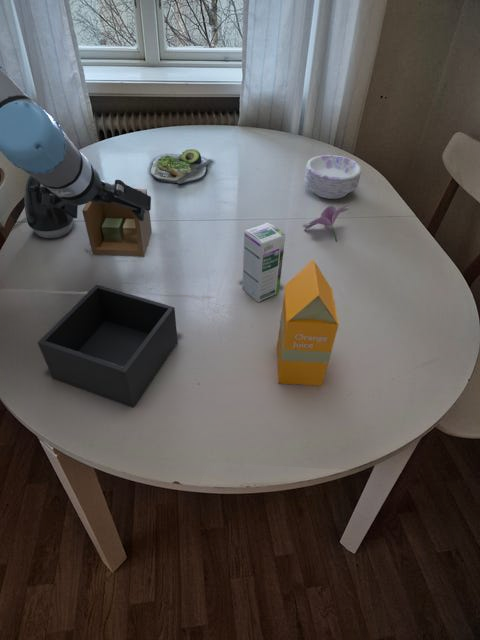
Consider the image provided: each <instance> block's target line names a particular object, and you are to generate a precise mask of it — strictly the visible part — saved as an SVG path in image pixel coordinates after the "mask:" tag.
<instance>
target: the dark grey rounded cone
mask: <svg viewBox="0 0 480 640" xmlns="http://www.w3.org/2000/svg"><path fill="white" fill-rule="evenodd" d="M23 192H24V196H23V197H24V198H23V199H24V212H25V219H26V223H27V225H28V227H30V228H31V229H32V231H33V232H34V233H35V234H36V235H37V236H39V237H41V238H44V239H57V238H61V237H64V236H65V235H68V233H70V231H71V230H72V228H73V224H74V223H73V221H74V219H75V218H73V217H71V216H70V215H68V214H67V213H66V212H64V211H63V210H61V209H59V208H54V207H53V205H50V204H49V206H48V207H44V206H42V194H41V193H40V182H38V181H37V180H36V179H35V178H33V177H32V176H31V175H28V177H27V179H26V181H25V185H24V191H23ZM51 196H53V195H51Z"/></svg>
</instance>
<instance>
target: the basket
mask: <svg viewBox="0 0 480 640" xmlns="http://www.w3.org/2000/svg"><path fill="white" fill-rule="evenodd" d="M176 320H177V319H176V309H175V306H173V305H169V304H165V303H162V302H159V301H155V300H151V299H148V298H145V297H141V296H138V295H134V294H131V293H127V292H124V291H120V290H117V289H114V288H111V287H107V286H103V285H101V284H97V283H96V284H95V285H94V286H93V287H92V288H91V289H90V290H89V291H87V293H86V294H85V295H84V296H82V298H81V299H80V300H78V302H77V303H76V304H75V305H74V306H73V307H72V308H71V309H69V311H68V312H67V313H66V314H65V315H63V317H61V319H60V320H59V321H58V322H56V324H54V326H53V327H52V328H51V329H49V331H48V332H46V334H45V335H43V337H41V339H39V340H38V342H37V345H38V347H39V349H40V352H41V354H42V357H43V359H44V362H45V364H46V366H47V369H48V371H49V373H50V376H51V378H52V379H53V380H56V381H58V382H62V383H64V384H66V385H70V386H73V387H75V388H77V389H81V390H84V391H85V392H86V391H87V392H89V393H92V394H95V395H97V396H101V397H103V398H106V399H108V400H112V401H114V402H116V403H120V404H122V405H125V406H128V407H130V408H135V406H136V405H137V404H138V402H139V400H140V399H141V398H142V396H143V395H144V393H145V392H146V391H147V389H148V387H149V386H150V384H151V383H152V381H153V380H154V378H155V377H156V375H157V374H158V372H159V371H160V370H161V368H162V366H163V365H164V364H165V362H166V361H167V359H168V358H169V356H170V355H171V353H172V352H173V350H174V349H175V347H176V346H175V344H176V343H177V341H178V331H177V321H176ZM178 342H179V341H178ZM177 344H178V343H177ZM177 344H176V345H177ZM174 346H175V347H174ZM173 348H174V349H173ZM172 349H173V350H172ZM171 351H172V352H171ZM170 352H171V353H170ZM169 354H170V355H169ZM168 355H169V356H168ZM167 357H168V358H167ZM166 358H167V359H166ZM164 361H165V362H164ZM162 364H163V365H162ZM160 367H161V368H160ZM158 370H159V371H158ZM156 373H157V374H156ZM154 376H155V377H154ZM150 382H151V383H150ZM148 385H149V386H148ZM146 388H147V389H146Z"/></svg>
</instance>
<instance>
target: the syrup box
mask: <svg viewBox="0 0 480 640" xmlns="http://www.w3.org/2000/svg"><path fill="white" fill-rule="evenodd" d="M285 241H286V234H285V233H284V232H283V231H282V230H280V229H279V228H278V227H276V226H275V225H273V224H271V223H270V222H267V221H266V222H264V223H263V224H260V225H257V226H253V227H251V228H249V229H248V228H247V229H245V230H244V231H243V255H242V256H243V258H242V259H243V260H242V281H241V282H242V287H241V288H242V290H244V291H245V293H246V294H248V295H249V296H250V297H251V298H252V299H253V300H254V301H256V302H257V303H260V302H262V301H263V300H266V299H269V298H271V297H273V296H275V295H277V294H279V293H280V287H281V278H282V268H283V261H284V251H285V243H286V242H285Z"/></svg>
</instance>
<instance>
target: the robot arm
mask: <svg viewBox="0 0 480 640" xmlns="http://www.w3.org/2000/svg"><path fill="white" fill-rule="evenodd" d="M0 152H1V154H2V155H3V156H4V157H5V158H6V159H7V160H8V161H9V162H10V163H12V165H14V166H15V167H16V168H17V169H21V170H22V171H24V172H25V173H26V174H28V176H30V175H31V176H32V177H33V178H35V179H36V180H37V181H38V182H40V193H41V194H42V206H44V207H48V206H49V204H50V205H53V207H54V208H59V209H61V210H63V211H64V212H66V213H67V214H68V215H70V216H71V217H73V218H74V219H78V208H79V206H83V205H86V203H88V202H99V203H102V204H109V203H112V204H115V205H119V206H122V207H126V208H129V209H132V212H133V213H134V214H135V215H136V217H137V218H138V219H139V220H140V221H144V213H145V211H149V212H150V211H151V209H152V208H151V207H152V196H150V195H148V194H147V195H146V194H144V193H142V192H140V191H138V190H136V189H137V188H134V187H132V186H130V185H127V184H126V182H125V183H124V181H122V180H121V179H115V180H114V184H111V183H108V182H106V181H104V180H102V179H101V178H100V175H99V173H98V170H97V169H96V168H95V166H93V164H92V163H91V162H90V160H89V159H88V158H87V157H86V156H85V155H84V153H82V151H81V150H80V149H79V148H78V147H77V146H76V145H75V144H74V143H73V142H72V141H71V140H70V137H68V135H67V134H66V133H65V132H64V130H62V126H61V125H60V124H59V123H58V121H57V120H55V119H54V118H53V117H52V116H51V114H50V113H48V112H47V111H46V110H45V109H44V108H43V107H41V106H40V105H38V103H36V102H35V101H34V100H33V99H32V98H30V97H29V96H28V95H27V94H26V93H25V92H24V91H23V90H22V89H21V87H20V86H19V85H18V84H17V83H16V82H15V81H14V80H13V79H12V78H11V77H10V76H9V75H8V73H7V72H6V71H5V69H4V68H3V67H2V66H1V65H0ZM51 195H53V196H51ZM103 196H104V199H103V198H102V197H103Z"/></svg>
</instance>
